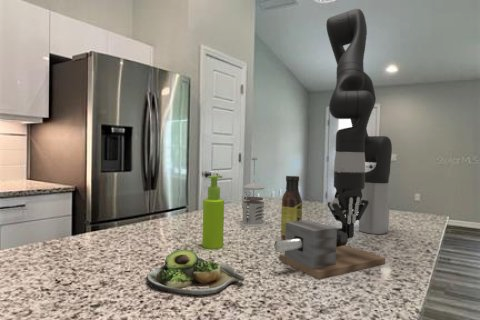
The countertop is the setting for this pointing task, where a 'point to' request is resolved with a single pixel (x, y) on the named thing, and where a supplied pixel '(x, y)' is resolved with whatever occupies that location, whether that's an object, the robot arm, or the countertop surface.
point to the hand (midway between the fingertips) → (347, 237)
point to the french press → (253, 206)
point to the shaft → (298, 242)
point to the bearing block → (324, 251)
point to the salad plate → (191, 274)
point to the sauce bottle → (291, 203)
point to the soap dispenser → (213, 217)
